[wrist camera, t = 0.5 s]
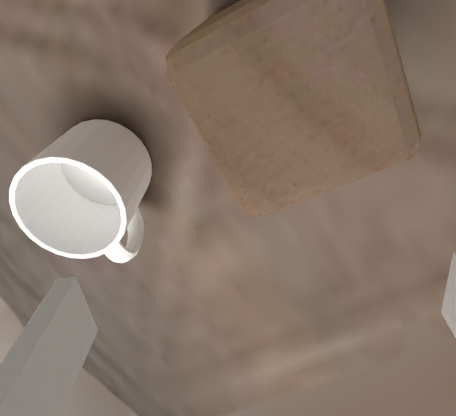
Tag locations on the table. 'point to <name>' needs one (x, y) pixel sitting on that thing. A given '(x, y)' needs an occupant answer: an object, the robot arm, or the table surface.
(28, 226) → the mug
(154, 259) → the table surface
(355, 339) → the table surface
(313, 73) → the block
